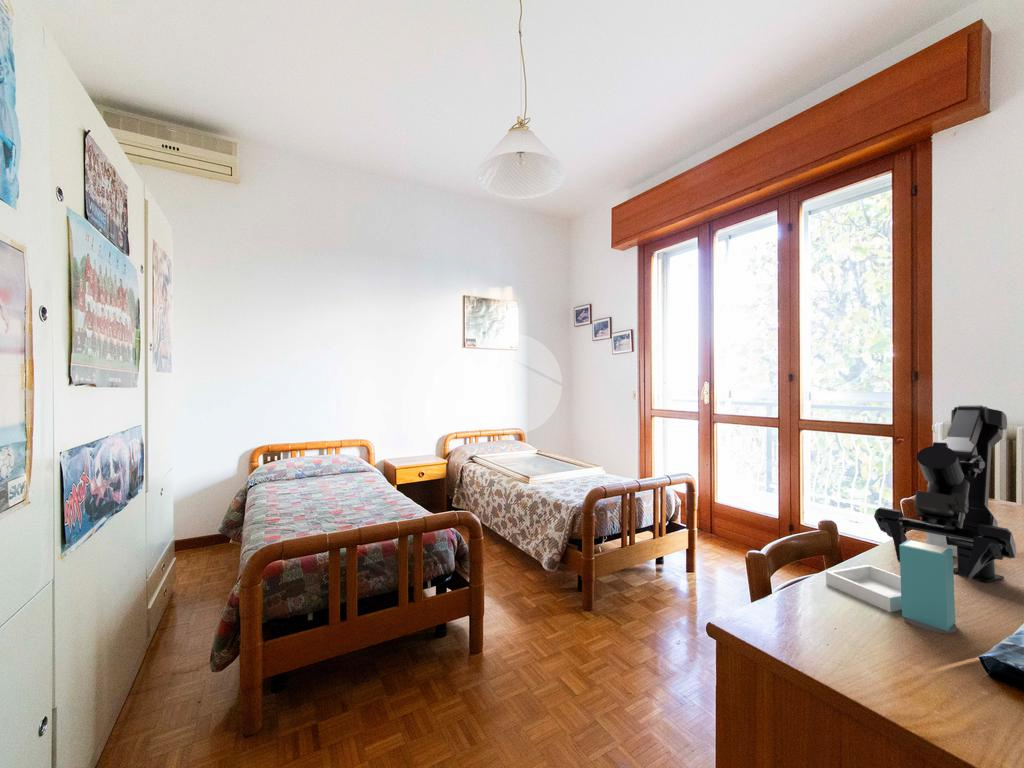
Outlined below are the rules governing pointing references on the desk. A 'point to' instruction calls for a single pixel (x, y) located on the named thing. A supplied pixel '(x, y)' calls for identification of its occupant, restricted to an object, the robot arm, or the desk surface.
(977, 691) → the desk surface
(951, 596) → the teal carton
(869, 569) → the white tray
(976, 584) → the desk surface
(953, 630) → the charcoal coaster
